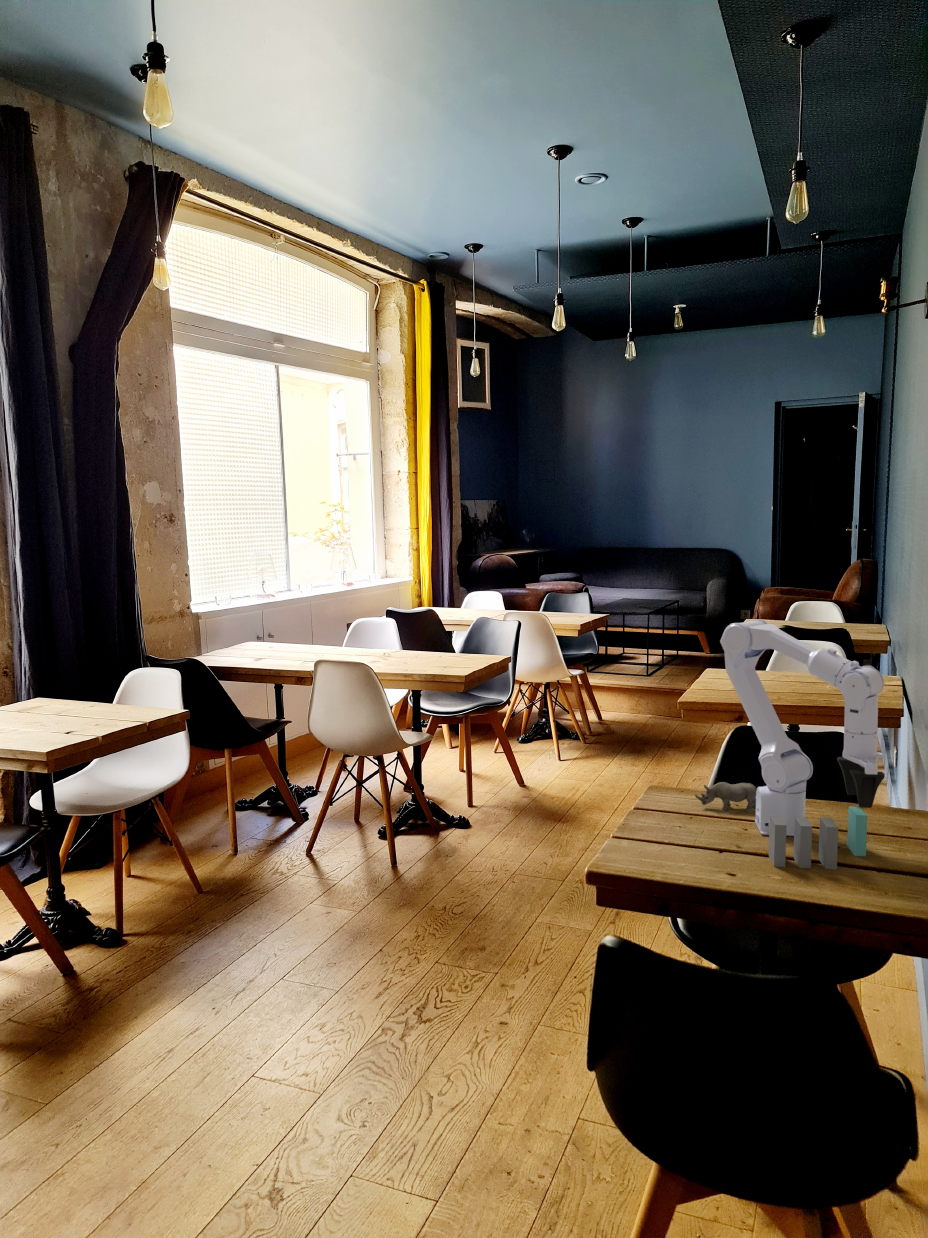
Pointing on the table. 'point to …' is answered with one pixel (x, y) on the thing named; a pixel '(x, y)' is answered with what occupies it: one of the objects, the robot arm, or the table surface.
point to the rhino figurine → (730, 794)
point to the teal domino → (857, 831)
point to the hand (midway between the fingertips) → (859, 800)
